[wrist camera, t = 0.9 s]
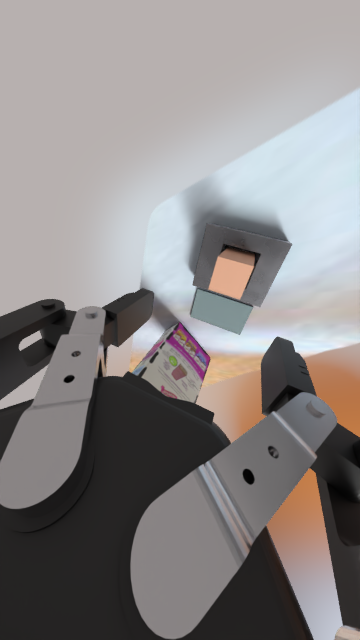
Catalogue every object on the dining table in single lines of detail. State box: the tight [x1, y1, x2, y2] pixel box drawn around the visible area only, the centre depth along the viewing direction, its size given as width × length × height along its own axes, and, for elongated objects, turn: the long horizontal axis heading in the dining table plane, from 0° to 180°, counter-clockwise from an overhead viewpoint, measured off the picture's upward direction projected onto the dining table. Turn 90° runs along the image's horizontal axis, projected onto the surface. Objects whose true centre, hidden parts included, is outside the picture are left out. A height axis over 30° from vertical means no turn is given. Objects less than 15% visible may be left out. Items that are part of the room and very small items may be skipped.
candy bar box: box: [132, 322, 210, 403], centre depth 32 cm, size 11×5×16 cm, turn 43°
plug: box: [208, 247, 255, 300], centre depth 23 cm, size 4×4×9 cm
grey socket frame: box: [193, 223, 292, 307], centre depth 26 cm, size 11×9×3 cm
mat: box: [191, 289, 253, 335], centre depth 32 cm, size 10×6×1 cm, turn 79°
